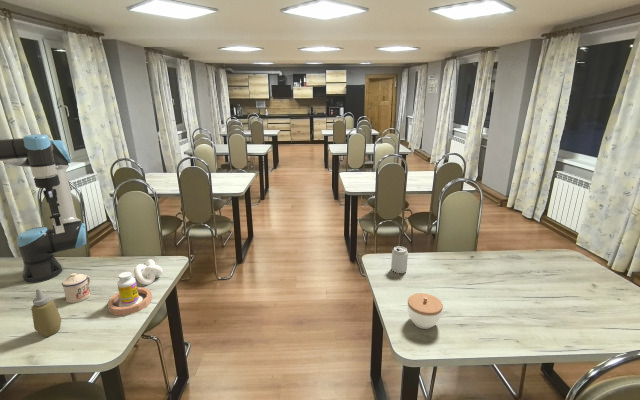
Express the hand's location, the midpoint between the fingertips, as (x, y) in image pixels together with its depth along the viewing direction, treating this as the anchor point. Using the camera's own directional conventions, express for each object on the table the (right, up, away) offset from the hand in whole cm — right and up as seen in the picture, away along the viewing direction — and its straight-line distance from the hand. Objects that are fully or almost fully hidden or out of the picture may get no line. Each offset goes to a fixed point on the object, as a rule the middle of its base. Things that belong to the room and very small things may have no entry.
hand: (59, 227), depth 138 cm
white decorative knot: (+23, -27, +25) cm, 44 cm away
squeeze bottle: (+4, -38, -9) cm, 40 cm away
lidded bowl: (+144, -36, -6) cm, 149 cm away
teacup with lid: (0, -31, +13) cm, 34 cm away
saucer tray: (+25, -33, +8) cm, 42 cm away
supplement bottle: (+25, -32, +8) cm, 41 cm away
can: (+143, -24, +32) cm, 149 cm away
